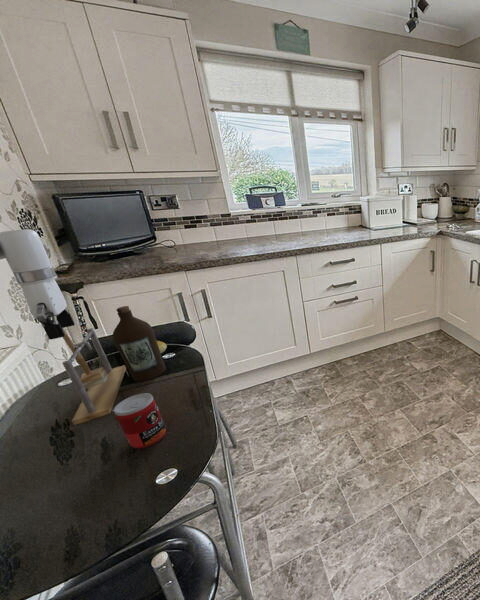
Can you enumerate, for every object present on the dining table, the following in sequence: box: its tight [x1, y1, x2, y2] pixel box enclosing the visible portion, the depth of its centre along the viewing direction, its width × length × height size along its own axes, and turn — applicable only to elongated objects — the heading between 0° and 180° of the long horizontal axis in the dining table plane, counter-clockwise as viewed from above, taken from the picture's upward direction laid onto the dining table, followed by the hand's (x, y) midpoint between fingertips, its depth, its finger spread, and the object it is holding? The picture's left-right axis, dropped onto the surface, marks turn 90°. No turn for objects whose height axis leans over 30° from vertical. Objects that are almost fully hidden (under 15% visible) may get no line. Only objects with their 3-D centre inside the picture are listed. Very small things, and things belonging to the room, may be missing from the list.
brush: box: [62, 328, 108, 390], centre depth 99 cm, size 6×4×20 cm
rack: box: [62, 327, 127, 426], centre depth 101 cm, size 8×30×18 cm, turn 32°
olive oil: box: [112, 305, 167, 383], centre depth 109 cm, size 11×11×25 cm
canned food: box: [113, 392, 167, 450], centre depth 81 cm, size 8×8×11 cm
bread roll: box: [157, 340, 168, 354], centre depth 128 cm, size 8×9×4 cm
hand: (63, 331), depth 95 cm, fingers open, 9 cm apart
